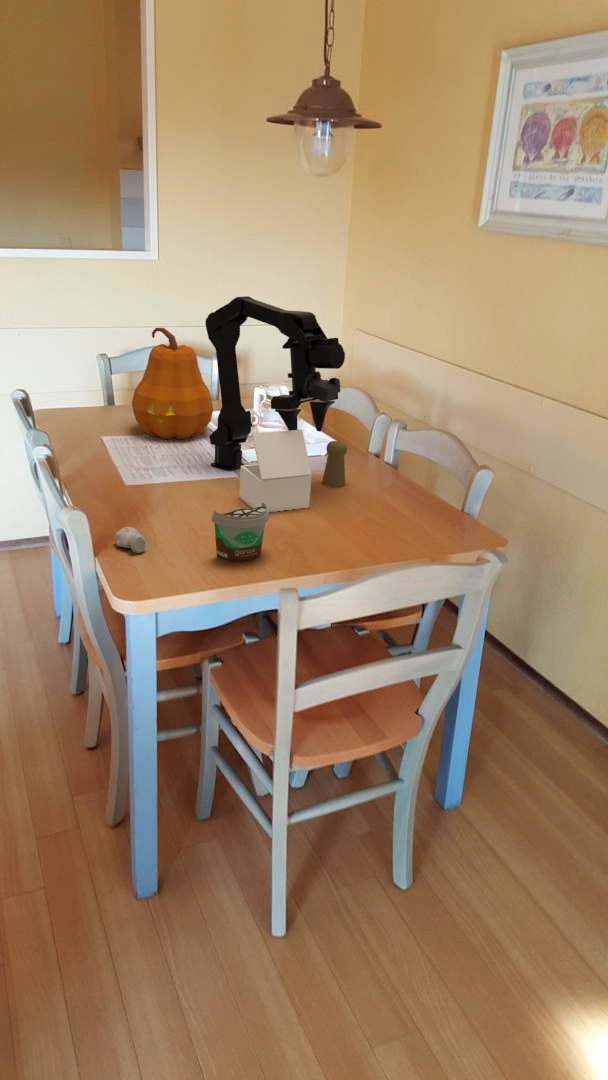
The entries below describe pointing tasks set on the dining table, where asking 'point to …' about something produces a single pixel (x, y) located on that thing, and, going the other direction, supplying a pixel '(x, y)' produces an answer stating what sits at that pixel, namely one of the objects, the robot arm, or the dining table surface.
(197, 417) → the decorative pumpkin
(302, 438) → the carton flap
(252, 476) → the carton
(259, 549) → the food container
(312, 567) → the dining table surface
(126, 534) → the grey rounded lumpy piece
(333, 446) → the cork
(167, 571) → the dining table surface
